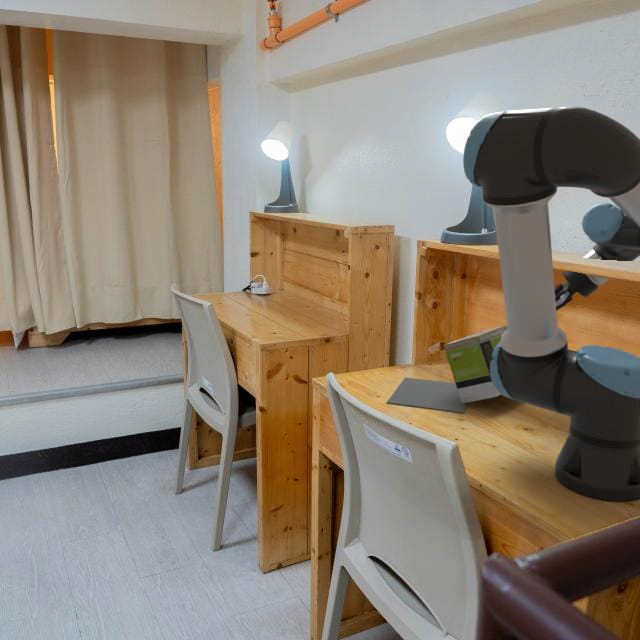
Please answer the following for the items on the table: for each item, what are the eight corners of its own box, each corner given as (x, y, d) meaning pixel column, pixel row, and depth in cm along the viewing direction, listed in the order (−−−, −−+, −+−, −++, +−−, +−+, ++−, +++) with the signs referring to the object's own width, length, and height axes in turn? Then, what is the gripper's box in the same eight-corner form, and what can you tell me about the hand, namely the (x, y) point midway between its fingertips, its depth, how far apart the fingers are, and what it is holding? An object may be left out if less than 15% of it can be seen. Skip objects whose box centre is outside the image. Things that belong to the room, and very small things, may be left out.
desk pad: (463, 413, 143) (463, 412, 143) (386, 403, 149) (386, 402, 149) (474, 386, 161) (474, 385, 161) (405, 378, 167) (405, 377, 167)
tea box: (491, 389, 158) (474, 333, 159) (527, 382, 151) (509, 323, 152) (460, 404, 148) (441, 343, 149) (497, 397, 141) (477, 334, 142)
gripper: (601, 292, 131) (513, 360, 142) (599, 280, 144) (518, 343, 154) (576, 266, 132) (490, 336, 142) (576, 256, 145) (497, 321, 155)
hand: (505, 339), depth 148 cm, fingers closed
